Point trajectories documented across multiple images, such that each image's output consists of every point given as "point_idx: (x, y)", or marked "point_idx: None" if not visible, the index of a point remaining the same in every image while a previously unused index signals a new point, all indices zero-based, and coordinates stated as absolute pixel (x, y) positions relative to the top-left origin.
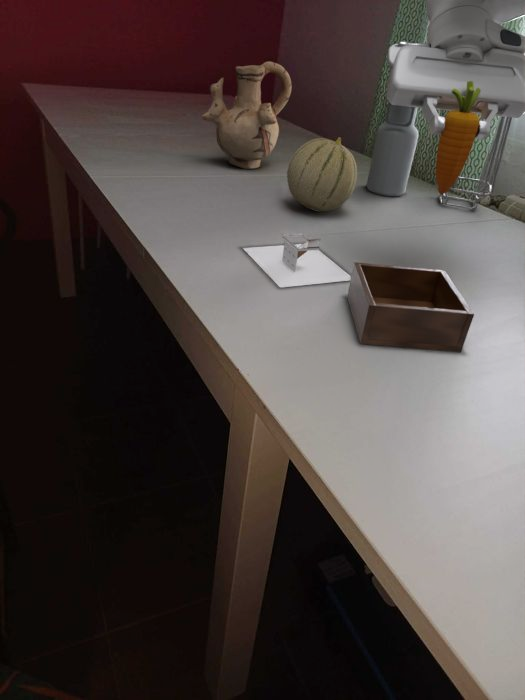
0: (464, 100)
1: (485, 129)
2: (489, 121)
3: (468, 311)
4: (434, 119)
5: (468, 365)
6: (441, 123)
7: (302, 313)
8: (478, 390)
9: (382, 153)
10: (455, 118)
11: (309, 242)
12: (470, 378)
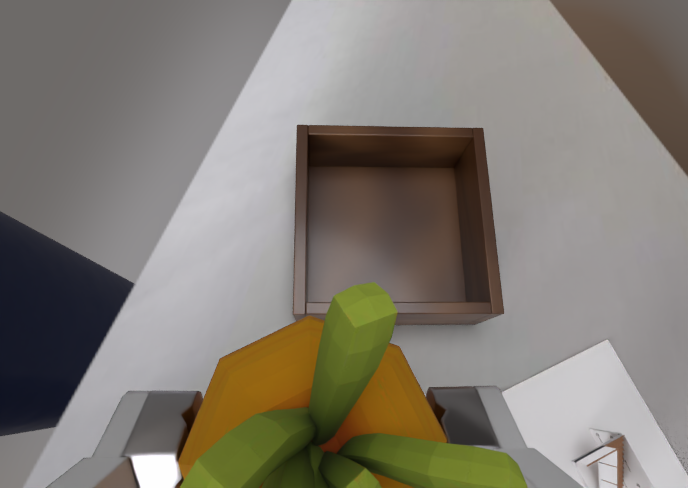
0: (345, 468)
1: (153, 399)
2: (95, 457)
3: (304, 133)
4: (515, 428)
5: None
6: (460, 400)
7: (554, 244)
8: (307, 76)
9: None
10: (397, 351)
11: (609, 450)
12: (309, 100)
